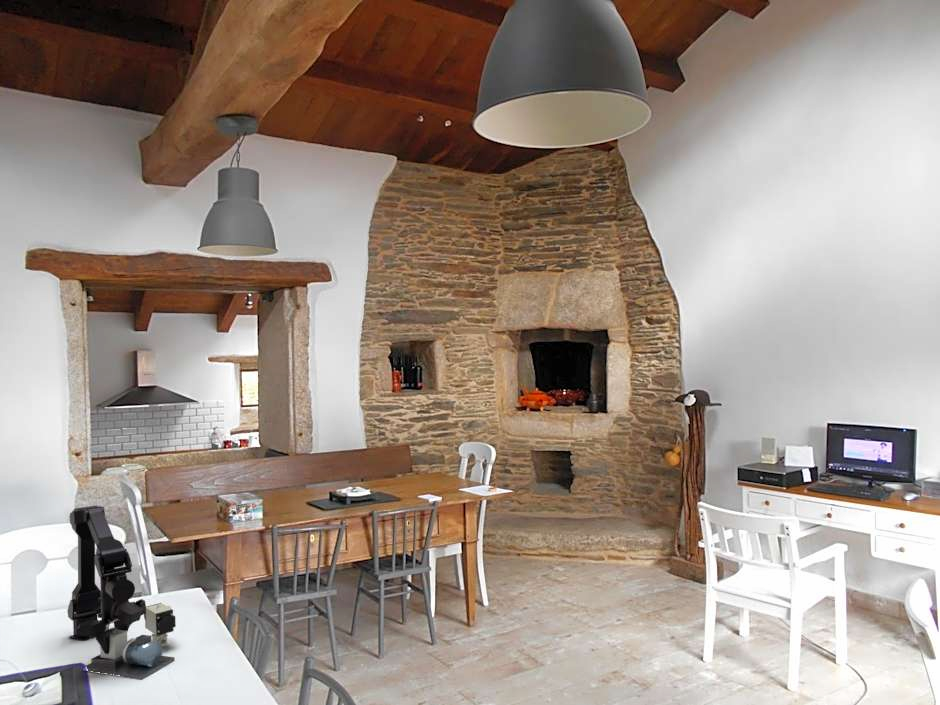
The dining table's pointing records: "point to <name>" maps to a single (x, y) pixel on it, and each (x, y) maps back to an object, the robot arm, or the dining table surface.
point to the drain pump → (115, 644)
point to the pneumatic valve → (159, 622)
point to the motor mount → (133, 659)
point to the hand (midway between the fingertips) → (114, 650)
